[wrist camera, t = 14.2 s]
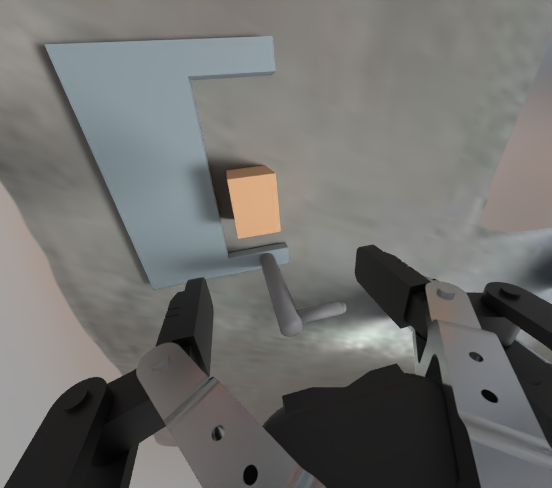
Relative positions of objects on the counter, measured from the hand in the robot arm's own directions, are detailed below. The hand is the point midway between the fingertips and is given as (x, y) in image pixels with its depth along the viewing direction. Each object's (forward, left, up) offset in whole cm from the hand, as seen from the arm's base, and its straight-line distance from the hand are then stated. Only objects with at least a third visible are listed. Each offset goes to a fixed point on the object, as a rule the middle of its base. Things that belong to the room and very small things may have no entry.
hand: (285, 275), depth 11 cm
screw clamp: (+4, -2, -18) cm, 18 cm away
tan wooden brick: (0, 0, -18) cm, 18 cm away
